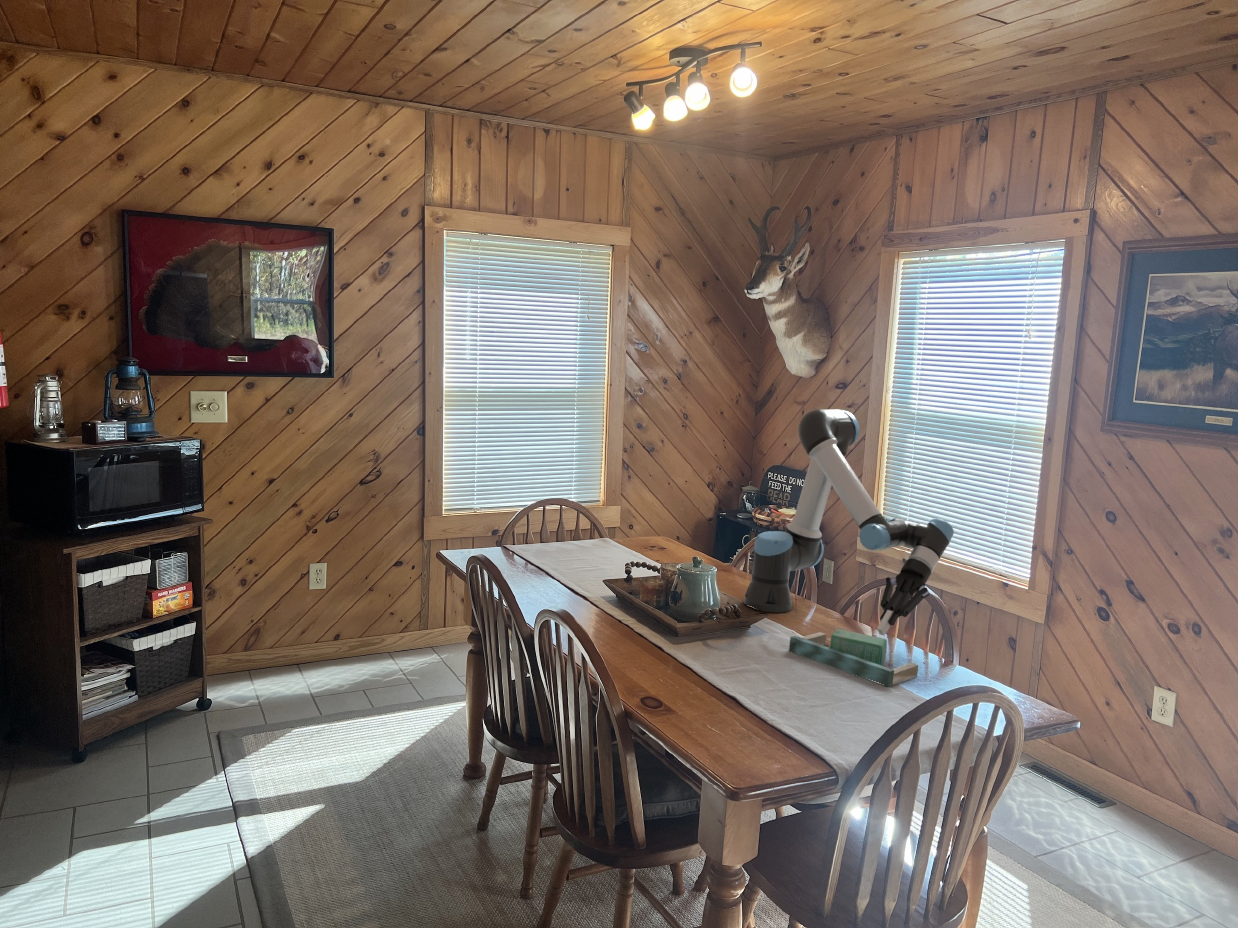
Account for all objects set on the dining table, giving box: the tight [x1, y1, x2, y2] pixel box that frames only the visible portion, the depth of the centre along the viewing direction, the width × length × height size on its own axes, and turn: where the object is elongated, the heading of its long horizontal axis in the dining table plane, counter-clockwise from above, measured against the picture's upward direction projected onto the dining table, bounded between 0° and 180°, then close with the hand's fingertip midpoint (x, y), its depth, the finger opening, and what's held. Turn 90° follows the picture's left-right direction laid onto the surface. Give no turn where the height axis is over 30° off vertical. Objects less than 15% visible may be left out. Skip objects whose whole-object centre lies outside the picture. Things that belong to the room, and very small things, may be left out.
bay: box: [788, 631, 919, 687], centre depth 231 cm, size 30×14×4 cm, turn 42°
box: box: [829, 628, 888, 666], centre depth 231 cm, size 7×14×8 cm, turn 64°
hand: (880, 631), depth 239 cm, fingers closed
